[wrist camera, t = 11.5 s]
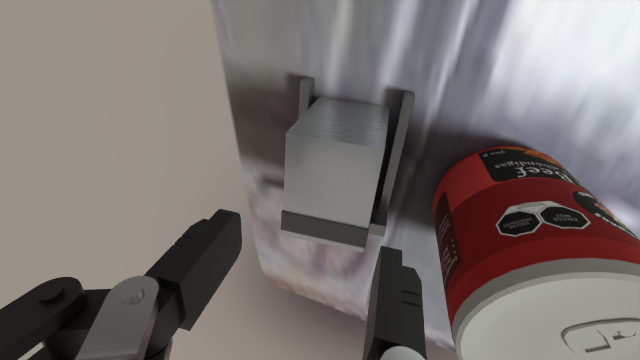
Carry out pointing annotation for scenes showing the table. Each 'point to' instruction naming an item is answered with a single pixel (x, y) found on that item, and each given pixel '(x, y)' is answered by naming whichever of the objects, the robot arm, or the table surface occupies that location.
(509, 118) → the table surface
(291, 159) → the block
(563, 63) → the table surface
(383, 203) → the rail channel
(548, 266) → the canned food
